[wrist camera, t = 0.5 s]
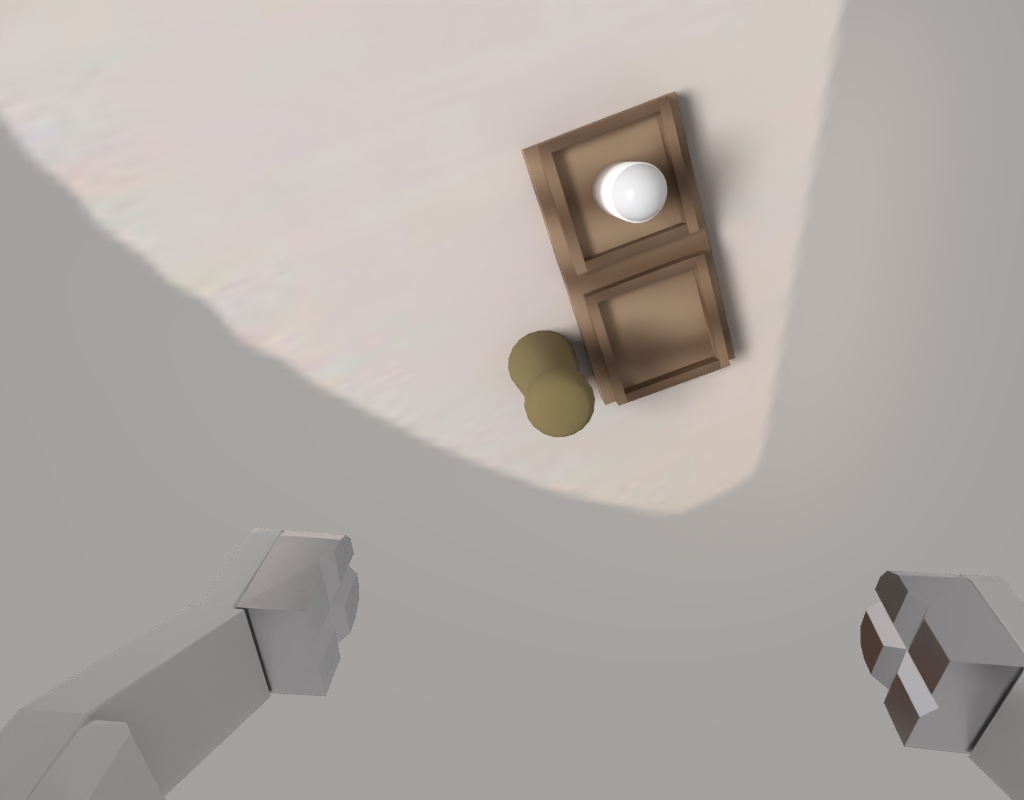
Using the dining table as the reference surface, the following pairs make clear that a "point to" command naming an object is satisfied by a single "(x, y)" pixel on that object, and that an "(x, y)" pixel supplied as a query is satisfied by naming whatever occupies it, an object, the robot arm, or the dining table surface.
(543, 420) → the olive green stopper
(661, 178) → the salt cellar
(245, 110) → the dining table surface
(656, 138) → the cruet board
